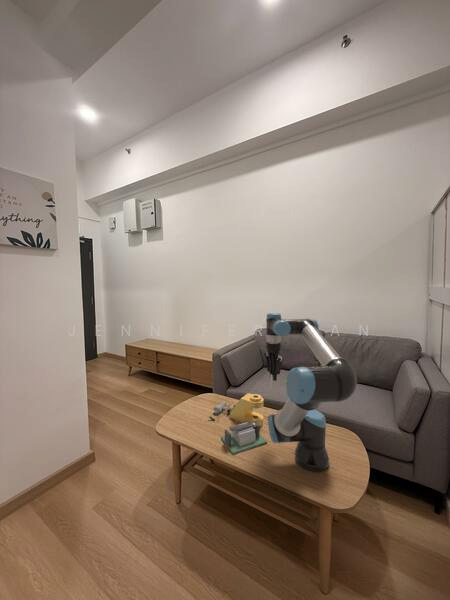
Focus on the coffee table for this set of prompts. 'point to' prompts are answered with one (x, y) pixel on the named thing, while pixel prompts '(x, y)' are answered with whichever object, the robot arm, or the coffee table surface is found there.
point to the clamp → (248, 409)
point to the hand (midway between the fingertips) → (273, 385)
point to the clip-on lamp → (219, 409)
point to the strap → (242, 426)
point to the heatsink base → (239, 449)
